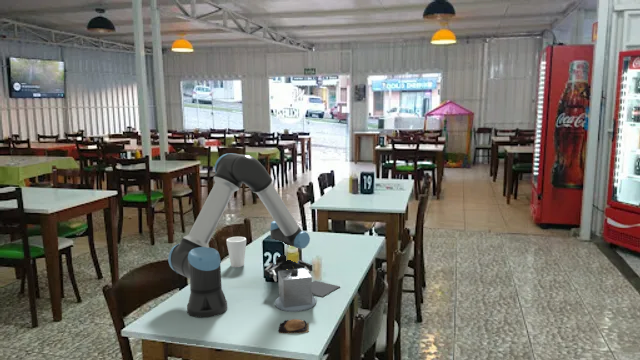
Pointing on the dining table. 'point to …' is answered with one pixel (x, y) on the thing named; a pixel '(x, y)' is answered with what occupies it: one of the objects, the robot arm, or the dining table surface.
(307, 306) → the plate with peach cylinder
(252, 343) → the dining table surface
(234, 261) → the foam cup
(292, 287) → the food cover
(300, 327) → the bread roll
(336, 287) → the mat
